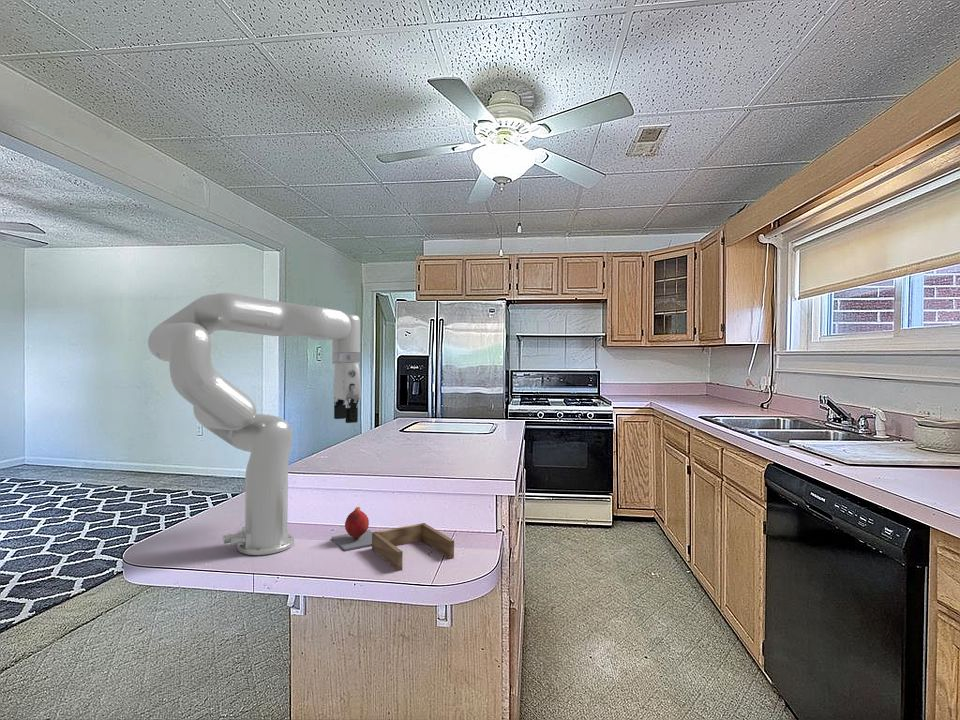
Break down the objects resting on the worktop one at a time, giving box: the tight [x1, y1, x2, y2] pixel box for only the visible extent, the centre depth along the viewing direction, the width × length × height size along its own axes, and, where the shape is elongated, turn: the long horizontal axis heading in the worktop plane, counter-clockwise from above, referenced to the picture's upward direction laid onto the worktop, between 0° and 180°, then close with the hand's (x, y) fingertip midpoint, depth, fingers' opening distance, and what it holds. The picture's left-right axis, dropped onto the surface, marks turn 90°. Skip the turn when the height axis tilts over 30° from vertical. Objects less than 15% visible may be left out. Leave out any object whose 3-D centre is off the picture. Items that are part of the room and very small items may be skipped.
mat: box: [331, 529, 373, 552], centre depth 131 cm, size 10×10×1 cm
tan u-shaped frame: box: [371, 522, 455, 572], centre depth 123 cm, size 14×15×4 cm
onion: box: [344, 506, 370, 539], centre depth 131 cm, size 6×6×8 cm
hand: (345, 420), depth 145 cm, fingers open, 9 cm apart
